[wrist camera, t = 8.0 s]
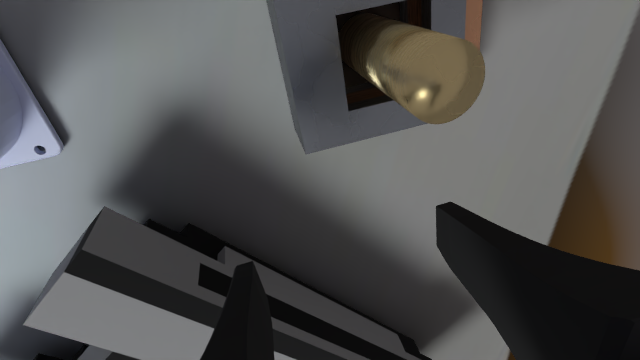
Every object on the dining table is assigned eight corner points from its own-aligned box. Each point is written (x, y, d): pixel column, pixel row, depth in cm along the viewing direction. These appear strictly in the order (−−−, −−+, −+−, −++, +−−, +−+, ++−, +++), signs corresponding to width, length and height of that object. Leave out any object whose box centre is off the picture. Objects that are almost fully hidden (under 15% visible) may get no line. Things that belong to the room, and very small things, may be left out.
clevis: (294, 129, 22) (305, 154, 19) (262, -20, 18) (269, -19, 15) (452, 90, 23) (486, 108, 20) (456, -59, 19) (500, -65, 16)
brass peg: (342, 75, 21) (407, 132, 13) (333, 19, 19) (403, 49, 12) (390, 62, 21) (482, 112, 14) (386, 7, 20) (487, 28, 12)
